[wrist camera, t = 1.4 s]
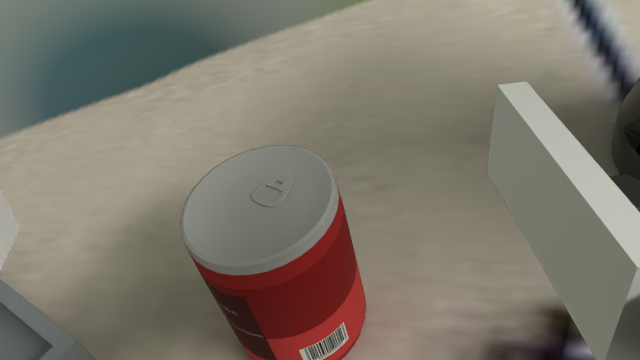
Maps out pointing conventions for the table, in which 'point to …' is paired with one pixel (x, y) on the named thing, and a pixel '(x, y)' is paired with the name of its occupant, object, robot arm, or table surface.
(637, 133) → the robot arm
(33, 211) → the table surface
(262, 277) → the canned food
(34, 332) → the tray
